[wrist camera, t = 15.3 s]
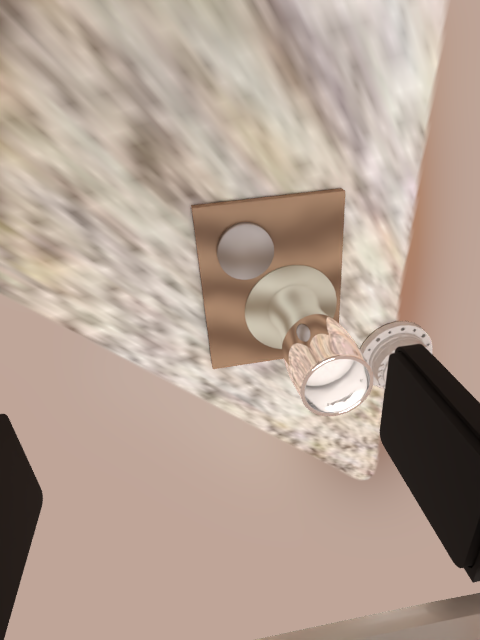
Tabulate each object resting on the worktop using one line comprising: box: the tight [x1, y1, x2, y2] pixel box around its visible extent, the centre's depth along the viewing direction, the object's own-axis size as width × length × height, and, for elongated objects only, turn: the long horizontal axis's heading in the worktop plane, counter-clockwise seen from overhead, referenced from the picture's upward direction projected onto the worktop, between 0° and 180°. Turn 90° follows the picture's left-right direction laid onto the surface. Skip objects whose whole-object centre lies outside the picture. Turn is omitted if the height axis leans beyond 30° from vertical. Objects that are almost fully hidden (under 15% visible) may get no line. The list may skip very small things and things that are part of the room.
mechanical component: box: [360, 321, 433, 389], centre depth 56 cm, size 10×4×10 cm
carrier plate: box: [191, 188, 345, 369], centre depth 49 cm, size 20×16×2 cm
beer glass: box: [268, 285, 374, 416], centre depth 44 cm, size 7×7×15 cm
